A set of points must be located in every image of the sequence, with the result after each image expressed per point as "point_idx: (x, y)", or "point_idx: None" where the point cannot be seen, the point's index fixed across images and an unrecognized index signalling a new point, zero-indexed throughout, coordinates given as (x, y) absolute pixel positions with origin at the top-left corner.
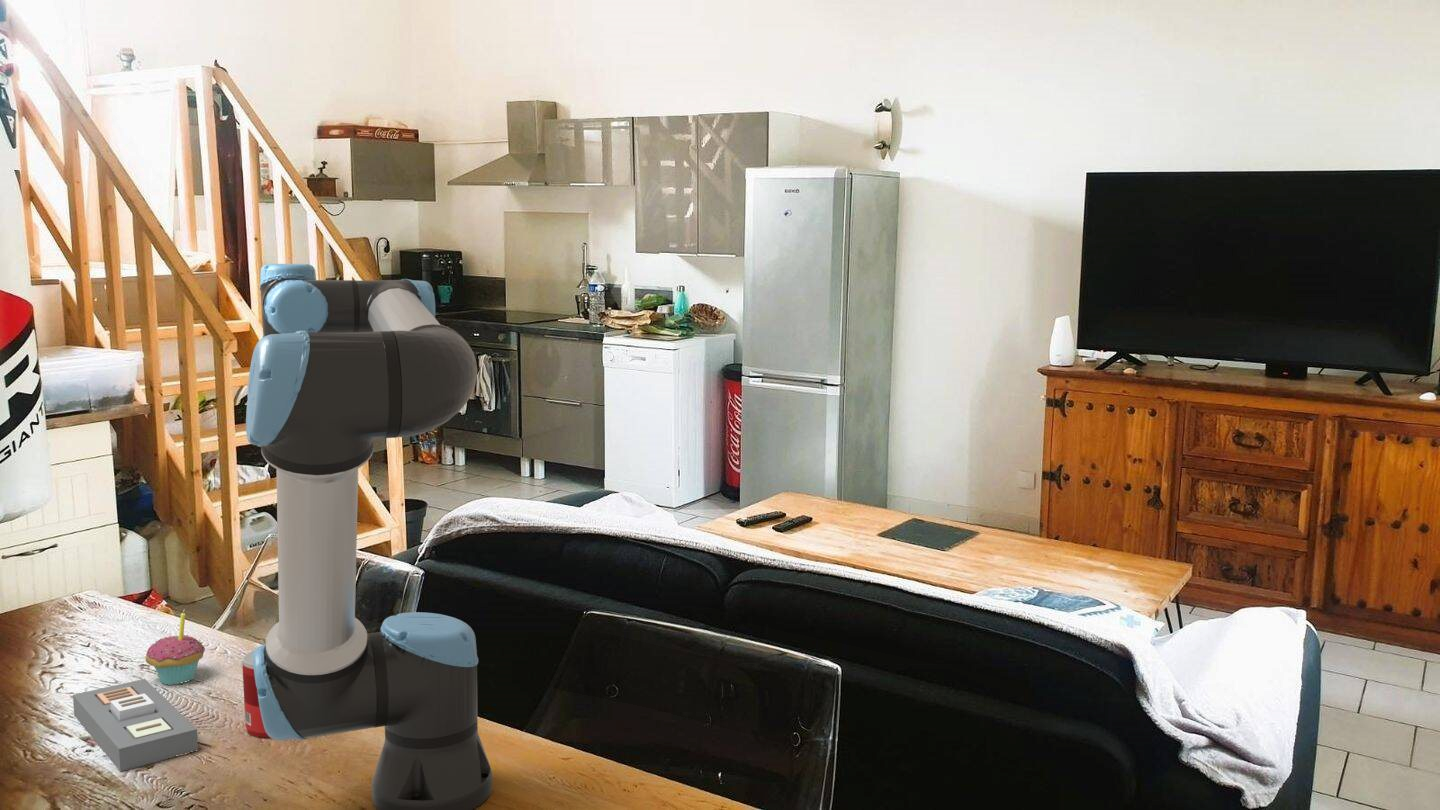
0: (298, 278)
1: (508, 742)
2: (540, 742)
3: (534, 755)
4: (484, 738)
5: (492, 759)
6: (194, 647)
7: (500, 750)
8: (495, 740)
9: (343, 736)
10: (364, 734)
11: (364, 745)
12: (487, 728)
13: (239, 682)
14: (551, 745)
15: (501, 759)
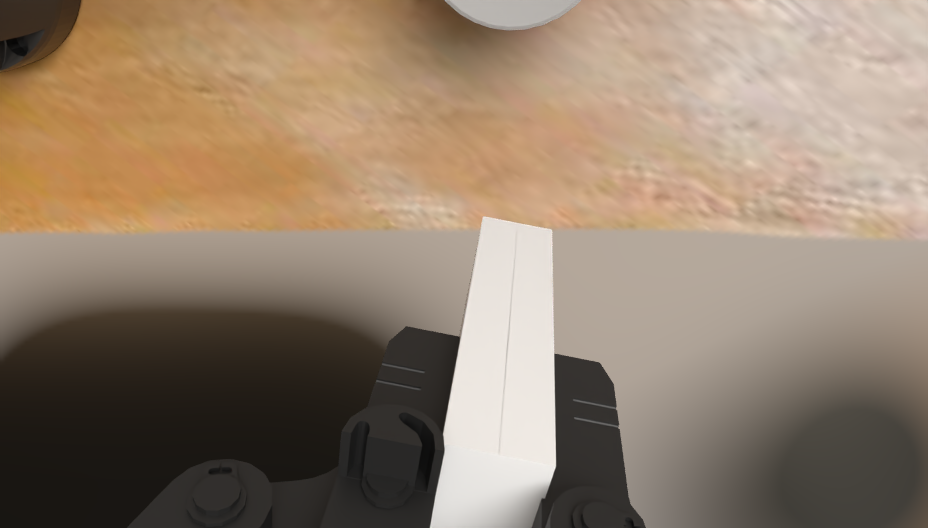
0: None
1: (98, 195)
2: (65, 227)
3: (20, 183)
4: (142, 181)
5: (46, 125)
6: None
7: (74, 162)
8: (121, 187)
9: (347, 3)
10: (323, 42)
11: (270, 3)
12: (180, 215)
13: (868, 48)
14: (43, 229)
15: (37, 135)
